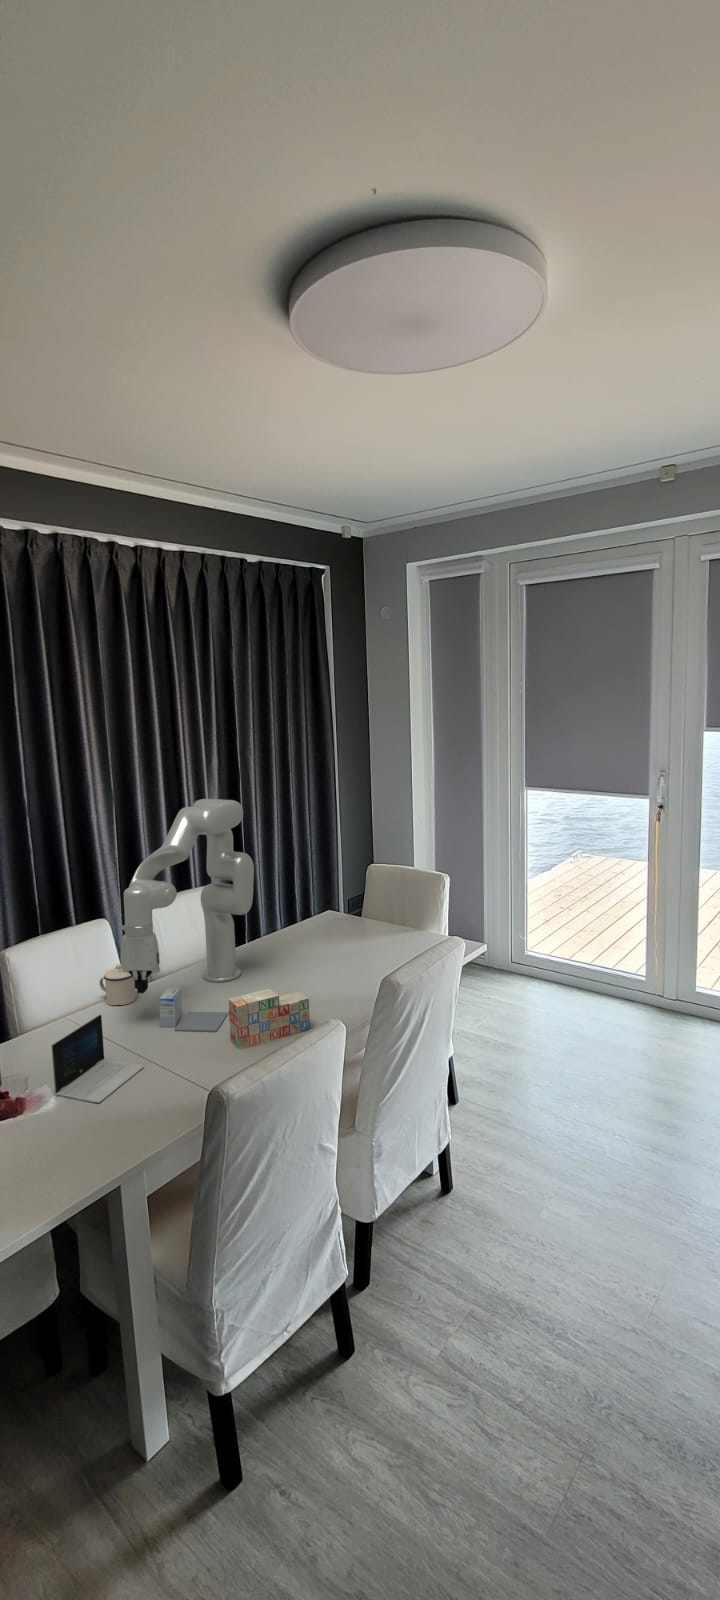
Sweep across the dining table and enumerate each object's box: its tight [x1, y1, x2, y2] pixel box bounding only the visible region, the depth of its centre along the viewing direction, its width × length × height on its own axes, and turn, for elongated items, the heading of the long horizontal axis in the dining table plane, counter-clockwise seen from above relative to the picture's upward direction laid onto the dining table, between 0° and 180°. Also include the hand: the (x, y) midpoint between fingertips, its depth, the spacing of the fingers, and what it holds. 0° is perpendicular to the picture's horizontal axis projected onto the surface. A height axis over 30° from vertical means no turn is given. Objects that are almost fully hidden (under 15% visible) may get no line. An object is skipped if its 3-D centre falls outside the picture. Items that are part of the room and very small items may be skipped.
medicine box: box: [158, 987, 183, 1028], centre depth 214 cm, size 8×4×9 cm, turn 0°
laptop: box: [51, 1014, 145, 1104], centre depth 181 cm, size 18×12×13 cm
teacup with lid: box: [98, 963, 137, 1006], centre depth 230 cm, size 12×9×12 cm
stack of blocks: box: [228, 988, 311, 1050], centre depth 204 cm, size 21×6×12 cm, turn 121°
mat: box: [174, 1010, 229, 1033], centre depth 214 cm, size 12×12×1 cm
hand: (142, 991), depth 214 cm, fingers closed
